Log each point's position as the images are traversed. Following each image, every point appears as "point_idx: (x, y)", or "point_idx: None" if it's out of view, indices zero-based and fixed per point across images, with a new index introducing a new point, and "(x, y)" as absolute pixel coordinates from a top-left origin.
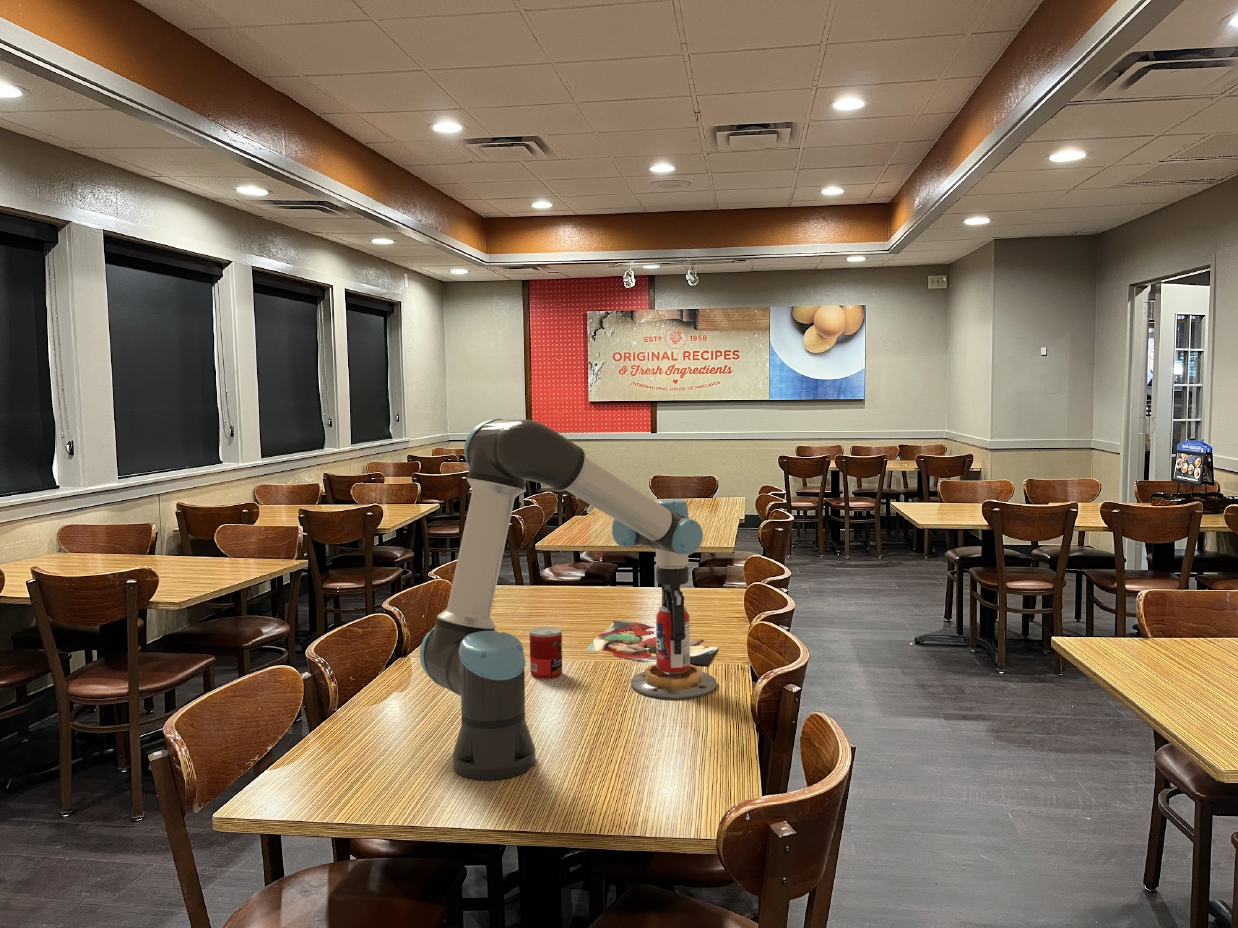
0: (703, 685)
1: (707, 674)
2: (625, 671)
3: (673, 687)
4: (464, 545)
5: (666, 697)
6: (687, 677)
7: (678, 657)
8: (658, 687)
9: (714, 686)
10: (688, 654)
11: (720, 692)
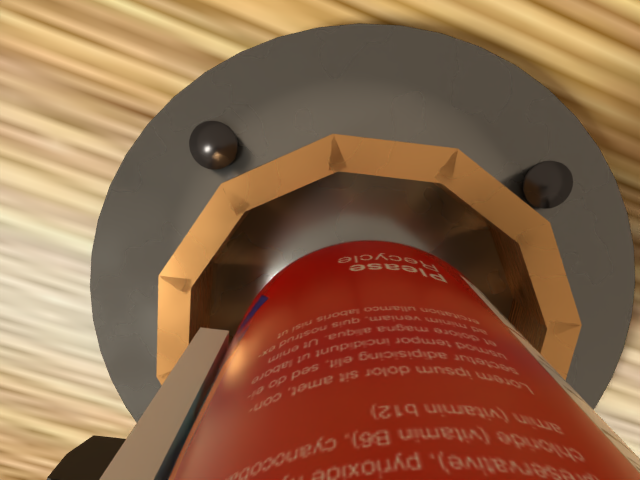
0: (534, 172)
1: (292, 43)
2: (49, 467)
3: None
4: None
5: None
6: (557, 310)
7: None
8: None
9: (544, 90)
10: (517, 331)
11: (599, 73)
